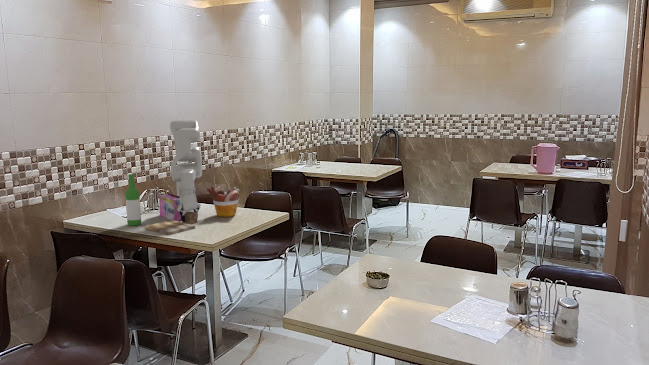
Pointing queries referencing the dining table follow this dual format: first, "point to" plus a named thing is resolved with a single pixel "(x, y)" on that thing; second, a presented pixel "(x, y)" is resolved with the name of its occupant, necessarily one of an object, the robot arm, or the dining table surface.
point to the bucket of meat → (224, 201)
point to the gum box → (169, 206)
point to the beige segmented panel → (162, 225)
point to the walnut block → (190, 217)
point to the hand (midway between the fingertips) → (189, 219)
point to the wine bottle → (133, 203)
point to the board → (177, 228)
